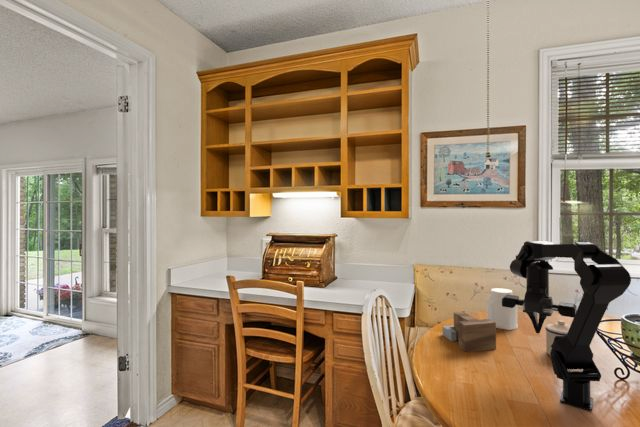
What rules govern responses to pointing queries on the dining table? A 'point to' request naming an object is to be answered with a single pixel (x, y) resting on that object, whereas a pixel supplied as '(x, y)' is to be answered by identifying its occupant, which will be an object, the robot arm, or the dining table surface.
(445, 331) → the stop bracket
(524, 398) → the dining table surface
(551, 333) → the teacup with lid
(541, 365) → the dining table surface
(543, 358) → the dining table surface
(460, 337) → the tee block
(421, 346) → the dining table surface
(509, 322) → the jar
